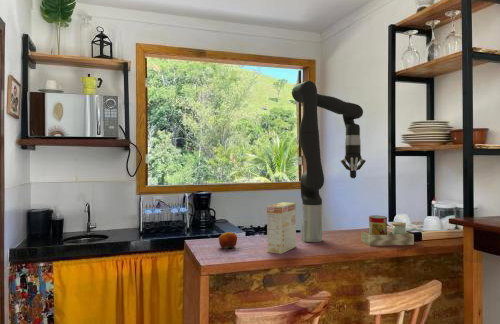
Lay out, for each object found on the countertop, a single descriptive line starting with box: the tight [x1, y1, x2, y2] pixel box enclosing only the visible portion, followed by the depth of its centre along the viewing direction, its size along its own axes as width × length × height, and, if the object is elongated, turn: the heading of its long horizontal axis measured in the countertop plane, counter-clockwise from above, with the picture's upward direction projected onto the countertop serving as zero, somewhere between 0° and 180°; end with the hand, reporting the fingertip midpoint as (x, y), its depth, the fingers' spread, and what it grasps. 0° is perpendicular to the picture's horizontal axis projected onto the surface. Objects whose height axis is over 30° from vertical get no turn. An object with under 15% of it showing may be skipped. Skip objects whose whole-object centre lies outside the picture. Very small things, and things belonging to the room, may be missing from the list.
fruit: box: [218, 231, 238, 250], centre depth 161 cm, size 8×8×8 cm
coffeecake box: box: [266, 201, 297, 255], centre depth 158 cm, size 15×7×20 cm, turn 149°
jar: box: [392, 221, 407, 235], centre depth 170 cm, size 6×6×9 cm
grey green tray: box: [361, 230, 415, 247], centre depth 169 cm, size 20×10×4 cm, turn 93°
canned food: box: [368, 214, 388, 235], centre depth 170 cm, size 8×8×12 cm
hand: (353, 178), depth 189 cm, fingers closed
